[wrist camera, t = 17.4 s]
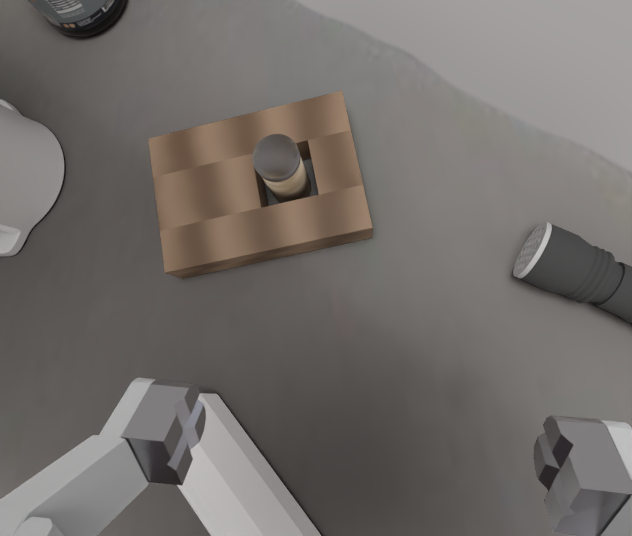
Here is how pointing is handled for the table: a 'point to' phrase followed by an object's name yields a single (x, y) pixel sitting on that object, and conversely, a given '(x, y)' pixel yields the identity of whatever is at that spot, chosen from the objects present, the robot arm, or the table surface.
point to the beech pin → (281, 167)
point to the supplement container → (79, 15)
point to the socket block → (255, 189)
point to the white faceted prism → (238, 483)
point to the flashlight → (575, 270)
